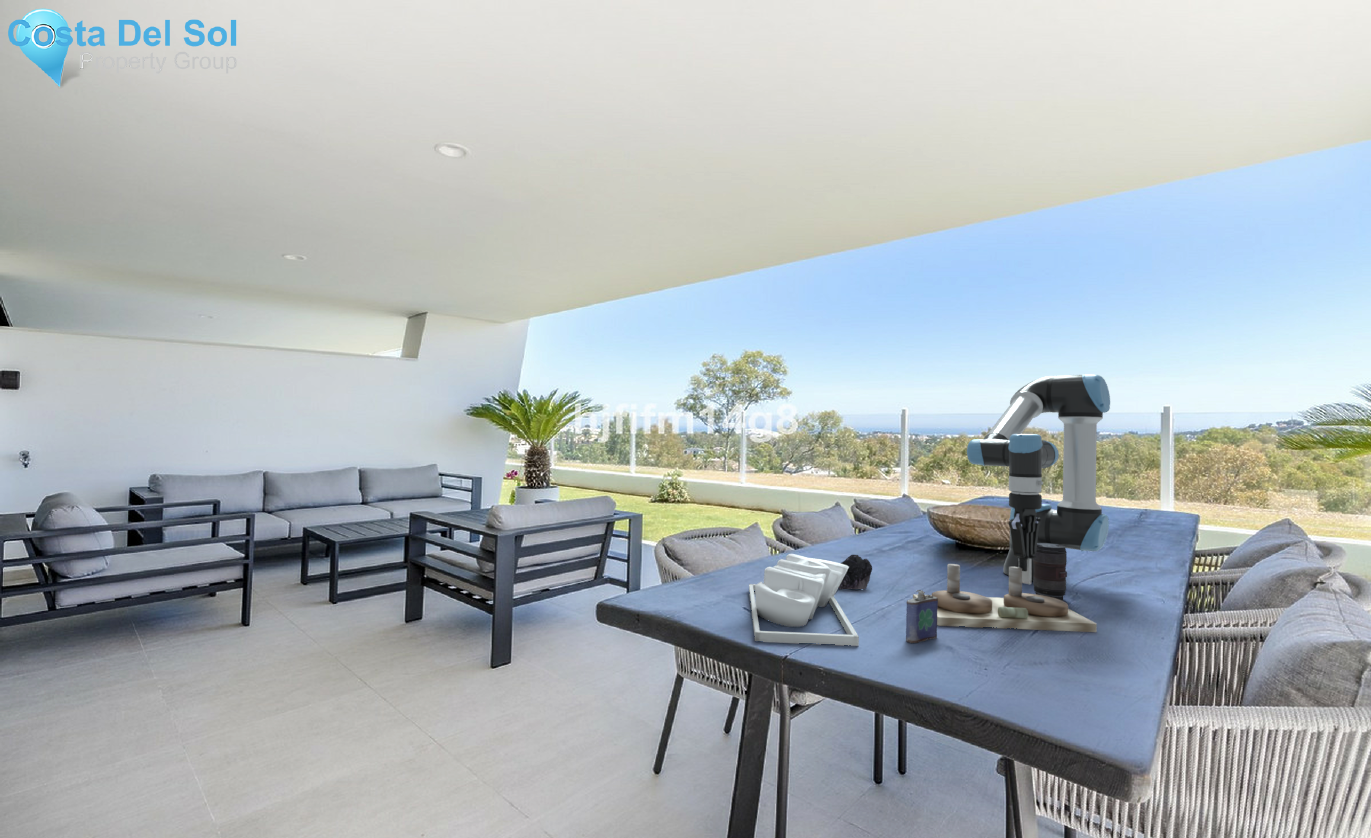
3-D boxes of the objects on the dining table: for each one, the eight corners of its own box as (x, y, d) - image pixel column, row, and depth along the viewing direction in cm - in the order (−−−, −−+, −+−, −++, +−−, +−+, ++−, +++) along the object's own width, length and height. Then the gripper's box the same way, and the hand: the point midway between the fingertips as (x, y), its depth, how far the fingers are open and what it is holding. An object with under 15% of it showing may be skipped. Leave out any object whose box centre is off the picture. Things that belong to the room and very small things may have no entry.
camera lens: (1057, 595, 174) (1057, 542, 174) (1072, 603, 166) (1072, 548, 166) (1027, 593, 175) (1027, 541, 175) (1041, 601, 167) (1041, 547, 167)
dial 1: (978, 598, 160) (978, 564, 160) (1002, 614, 146) (1002, 577, 146) (924, 596, 161) (924, 563, 161) (942, 612, 147) (942, 575, 147)
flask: (912, 644, 131) (913, 594, 131) (901, 640, 134) (902, 591, 134) (940, 637, 136) (940, 589, 136) (928, 633, 138) (929, 586, 139)
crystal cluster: (814, 586, 182) (815, 554, 181) (842, 576, 191) (842, 545, 190) (852, 600, 172) (853, 565, 171) (879, 588, 180) (880, 556, 179)
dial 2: (1027, 597, 162) (1028, 564, 162) (1080, 612, 149) (1081, 576, 149) (991, 603, 156) (991, 568, 156) (1043, 619, 143) (1043, 581, 143)
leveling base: (1051, 607, 162) (1051, 590, 162) (1096, 632, 142) (1096, 613, 142) (912, 601, 164) (913, 585, 164) (938, 625, 144) (938, 607, 144)
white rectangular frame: (827, 594, 170) (827, 587, 170) (858, 646, 129) (858, 636, 129) (749, 591, 172) (749, 584, 172) (755, 641, 131) (755, 632, 131)
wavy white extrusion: (796, 581, 174) (799, 546, 173) (852, 598, 165) (856, 560, 164) (737, 618, 145) (742, 576, 144) (802, 641, 136) (807, 595, 135)
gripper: (1028, 495, 152) (1028, 590, 152) (1051, 492, 159) (1051, 582, 159) (998, 493, 158) (998, 583, 158) (1021, 489, 166) (1021, 576, 165)
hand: (1024, 582), depth 159 cm, fingers closed
